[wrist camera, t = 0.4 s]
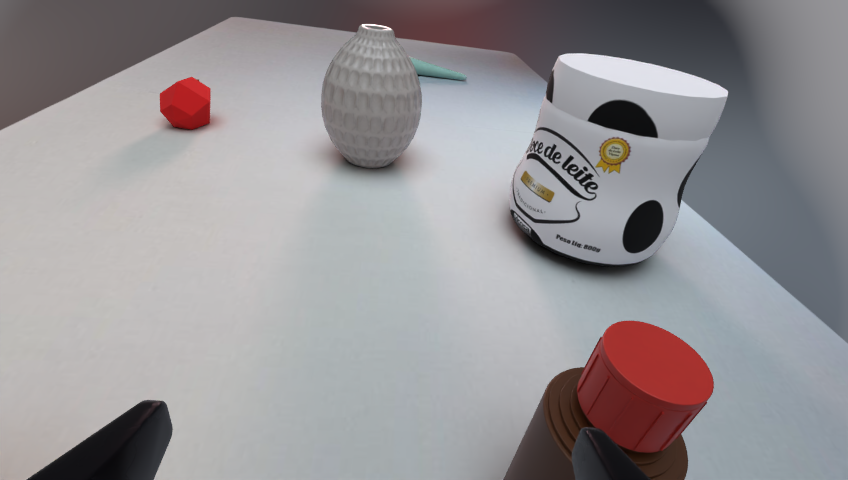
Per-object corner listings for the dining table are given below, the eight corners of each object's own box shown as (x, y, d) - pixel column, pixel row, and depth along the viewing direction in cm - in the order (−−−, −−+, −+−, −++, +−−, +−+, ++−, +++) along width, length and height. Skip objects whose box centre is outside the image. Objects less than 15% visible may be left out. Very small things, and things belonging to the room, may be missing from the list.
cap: (694, 455, 16) (738, 407, 14) (597, 451, 16) (630, 402, 14) (645, 370, 19) (677, 323, 17) (564, 366, 19) (588, 317, 17)
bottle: (626, 585, 21) (781, 445, 14) (509, 586, 20) (608, 439, 13) (583, 464, 26) (681, 314, 19) (488, 461, 25) (552, 305, 18)
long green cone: (471, 59, 99) (357, 43, 97) (467, 83, 102) (356, 68, 100) (469, 55, 103) (359, 39, 101) (464, 78, 106) (358, 63, 104)
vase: (431, 171, 58) (452, 40, 48) (345, 186, 51) (349, 37, 42) (386, 137, 66) (396, 19, 57) (307, 145, 60) (304, 14, 50)
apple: (184, 98, 54) (210, 62, 58) (137, 99, 55) (166, 64, 59) (212, 140, 59) (233, 104, 64) (169, 140, 60) (193, 105, 65)
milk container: (478, 237, 46) (521, 62, 35) (528, 184, 58) (570, 45, 48) (644, 306, 39) (753, 118, 29) (659, 229, 52) (738, 81, 42)
